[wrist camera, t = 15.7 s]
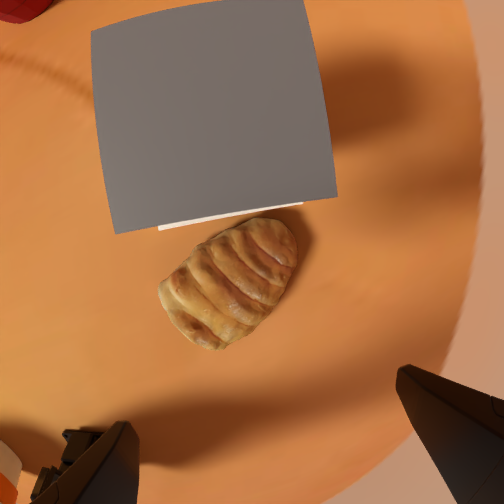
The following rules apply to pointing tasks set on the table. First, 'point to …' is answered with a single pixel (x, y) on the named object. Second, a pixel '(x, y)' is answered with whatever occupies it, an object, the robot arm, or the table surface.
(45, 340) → the table surface
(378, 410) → the table surface
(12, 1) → the plastic cup
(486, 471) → the robot arm
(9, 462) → the reusable coffee cup
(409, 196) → the table surface
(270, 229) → the pastry
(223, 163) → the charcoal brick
